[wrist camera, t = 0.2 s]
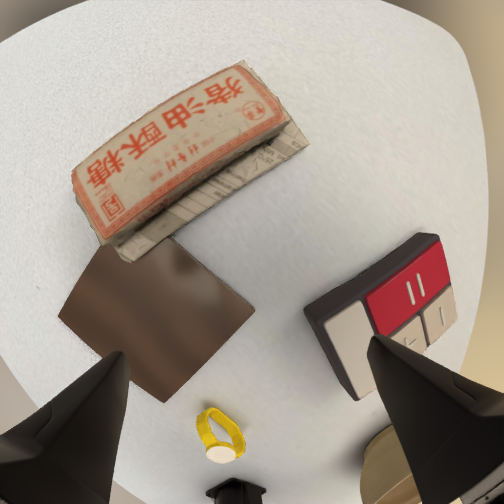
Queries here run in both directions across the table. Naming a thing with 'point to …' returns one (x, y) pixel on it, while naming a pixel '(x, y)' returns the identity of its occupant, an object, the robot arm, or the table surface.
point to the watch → (216, 449)
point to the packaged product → (183, 159)
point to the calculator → (385, 310)
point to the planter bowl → (387, 472)
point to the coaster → (154, 313)
